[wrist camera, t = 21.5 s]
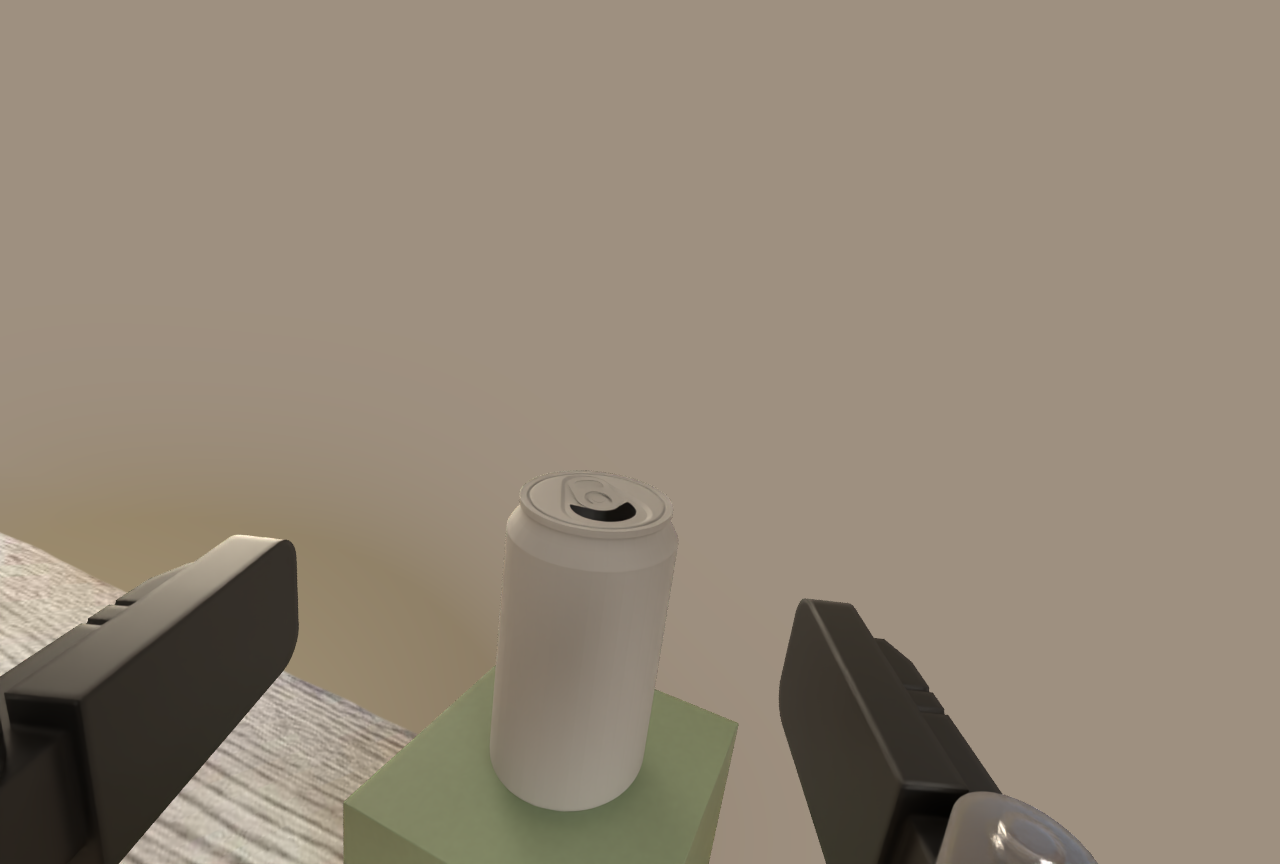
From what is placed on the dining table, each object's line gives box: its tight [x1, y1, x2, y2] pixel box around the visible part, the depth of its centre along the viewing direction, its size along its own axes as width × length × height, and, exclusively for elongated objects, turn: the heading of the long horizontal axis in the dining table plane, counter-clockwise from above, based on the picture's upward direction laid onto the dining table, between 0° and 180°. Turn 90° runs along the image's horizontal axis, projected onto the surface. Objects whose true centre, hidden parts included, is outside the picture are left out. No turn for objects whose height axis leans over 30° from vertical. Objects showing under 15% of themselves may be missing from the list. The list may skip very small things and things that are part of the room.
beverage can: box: [490, 470, 678, 812], centre depth 24 cm, size 6×6×12 cm
